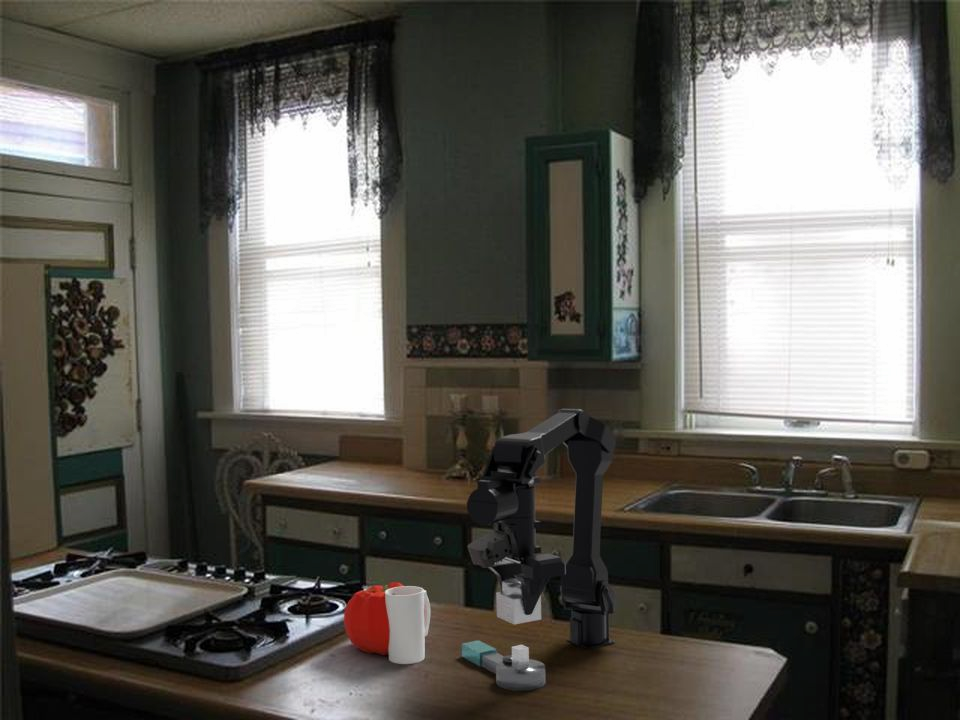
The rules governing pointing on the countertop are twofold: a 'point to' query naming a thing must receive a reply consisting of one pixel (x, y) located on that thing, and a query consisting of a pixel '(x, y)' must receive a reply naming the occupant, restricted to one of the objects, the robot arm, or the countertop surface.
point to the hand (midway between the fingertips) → (519, 610)
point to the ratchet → (507, 666)
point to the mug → (407, 623)
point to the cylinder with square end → (514, 603)
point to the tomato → (369, 619)
